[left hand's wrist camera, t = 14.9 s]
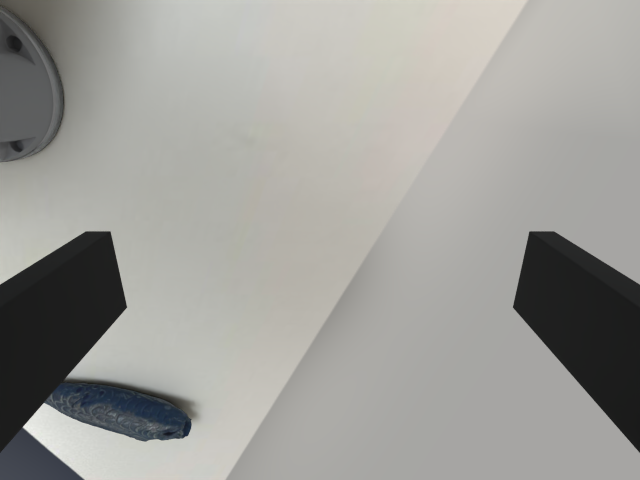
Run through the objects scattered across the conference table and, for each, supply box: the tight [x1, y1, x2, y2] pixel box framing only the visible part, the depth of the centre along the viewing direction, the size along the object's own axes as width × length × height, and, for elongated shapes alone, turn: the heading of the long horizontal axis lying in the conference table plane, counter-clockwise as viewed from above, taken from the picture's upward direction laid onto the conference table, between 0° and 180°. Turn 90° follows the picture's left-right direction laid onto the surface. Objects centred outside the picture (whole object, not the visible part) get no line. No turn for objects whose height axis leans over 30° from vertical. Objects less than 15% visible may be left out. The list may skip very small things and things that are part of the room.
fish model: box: [44, 383, 191, 441], centre depth 51 cm, size 7×21×5 cm, turn 77°
